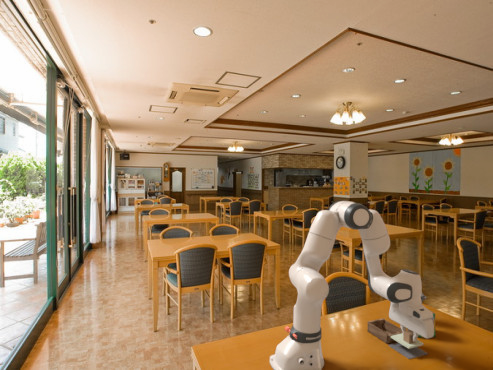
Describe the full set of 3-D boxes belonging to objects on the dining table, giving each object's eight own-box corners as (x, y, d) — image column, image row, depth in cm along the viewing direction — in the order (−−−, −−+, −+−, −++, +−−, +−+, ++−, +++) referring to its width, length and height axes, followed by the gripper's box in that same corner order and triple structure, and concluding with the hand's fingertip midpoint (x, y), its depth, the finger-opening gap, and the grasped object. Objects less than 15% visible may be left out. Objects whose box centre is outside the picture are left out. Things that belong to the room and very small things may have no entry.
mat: (409, 359, 124) (409, 358, 124) (388, 345, 134) (388, 344, 134) (428, 354, 128) (428, 353, 128) (406, 341, 138) (406, 340, 138)
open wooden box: (386, 343, 136) (386, 332, 136) (367, 331, 147) (367, 321, 147) (402, 339, 140) (402, 329, 139) (383, 328, 151) (383, 318, 151)
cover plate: (408, 348, 126) (408, 337, 126) (390, 337, 135) (390, 327, 135) (423, 345, 129) (423, 334, 129) (404, 334, 138) (404, 324, 138)
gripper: (385, 299, 139) (385, 328, 139) (425, 317, 120) (425, 351, 120) (395, 297, 141) (395, 326, 141) (436, 315, 122) (436, 348, 122)
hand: (409, 338), depth 130 cm, fingers closed on cover plate, 3 cm apart
